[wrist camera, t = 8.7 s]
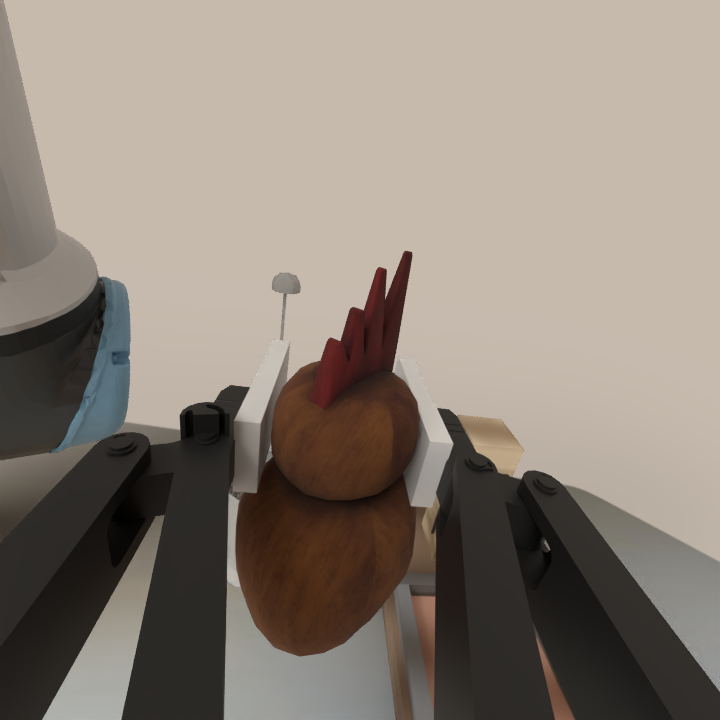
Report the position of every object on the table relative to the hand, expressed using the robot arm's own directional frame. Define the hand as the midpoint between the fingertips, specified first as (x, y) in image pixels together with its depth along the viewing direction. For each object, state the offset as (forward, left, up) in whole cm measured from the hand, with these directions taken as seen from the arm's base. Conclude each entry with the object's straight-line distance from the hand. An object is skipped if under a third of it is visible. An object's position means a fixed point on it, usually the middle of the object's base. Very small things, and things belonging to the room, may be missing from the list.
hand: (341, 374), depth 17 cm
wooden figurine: (+3, -5, -9) cm, 10 cm away
